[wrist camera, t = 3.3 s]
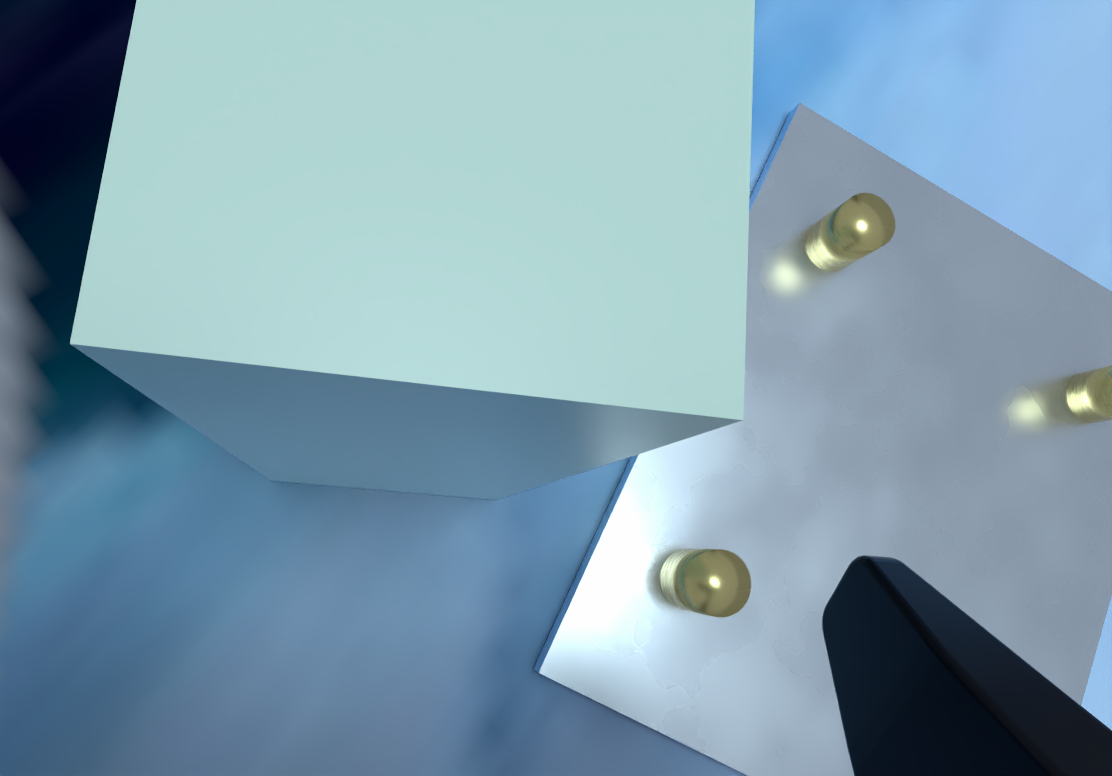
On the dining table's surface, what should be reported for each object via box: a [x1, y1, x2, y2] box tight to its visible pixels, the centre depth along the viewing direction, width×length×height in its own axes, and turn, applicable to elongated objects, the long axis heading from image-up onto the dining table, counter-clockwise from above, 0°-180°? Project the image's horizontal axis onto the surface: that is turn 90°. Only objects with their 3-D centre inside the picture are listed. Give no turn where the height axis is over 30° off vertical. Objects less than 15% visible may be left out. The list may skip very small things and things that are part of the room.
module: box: [70, 0, 755, 500], centre depth 13 cm, size 6×5×13 cm
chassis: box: [533, 103, 1112, 776], centre depth 20 cm, size 16×13×2 cm
